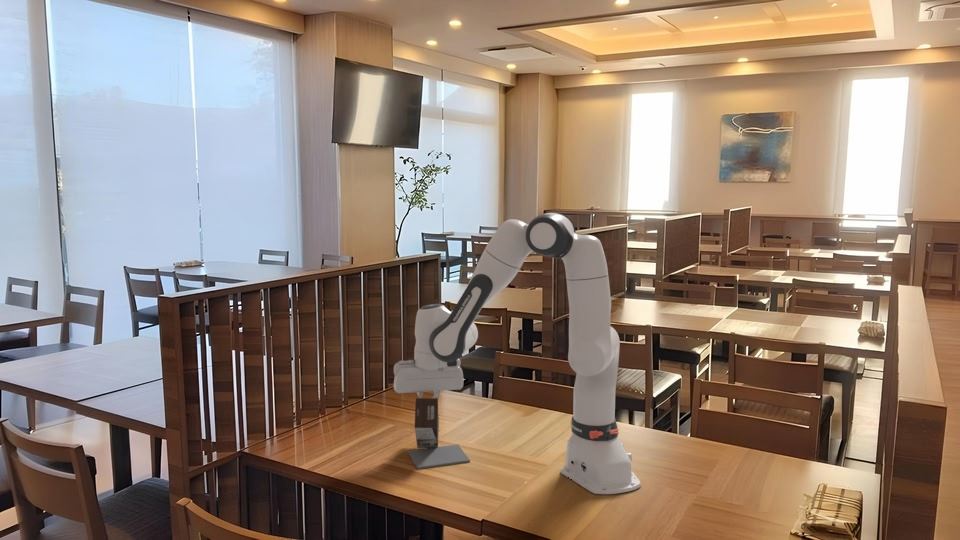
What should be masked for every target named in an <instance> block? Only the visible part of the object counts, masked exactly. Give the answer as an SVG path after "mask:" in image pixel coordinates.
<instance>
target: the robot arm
mask: <svg viewBox="0 0 960 540" xmlns="http://www.w3.org/2000/svg"><path fill="white" fill-rule="evenodd" d="M576 232H577V231H576V226H575V224H574V222H573V220H571V218H570V217H569V216H567V215H565V214H563V213H559V212H546V213H543V214H541V215H537V216H535V217H534V218H533V219H532V220H531V221H530V222H529V223H525V222H524V221H522V220H519V219H511V218H509V219H507V220H505V221H504V222H503V223H502V224H501V225H500V226H499V227H498V229H497V230H496V231H495V232H494V234H493V235H492V237H491V239H490V240H489V241H488V243H487V245H486V246H485V248H484V250H483V252H482V254H481V255H480V258H479V259H478V261H477V265H476V267H475V269H474V271H473V273H472V275H471V277H470V279H469V282H468V284H467V286H466V288H465V289H464V291H463V293H462V295H461V296H460V298H459V299H458V301H457V303H456V305H455V306H454V308H453V309H452V311H450V310H449V309H448V308H447V307H446V306H445V305H444V304H443V303H442V304H441V303H430V304H426V305H423V306H421V307H420V308H419V309H418V310H417V312H416V316H415V325H414V338H415V345H414V350H413V352H414V354H413V357H414V358H413V359H408V360H398V362H396V363H395V364H394V365H393V374H394V380H393V389H394V391H395V392H396V393H397V394H411V393H416V394H417V396H418V398H423V395H424V393H426V392H427V393H429V392H433V393H434V394H433V396H432V398H439V396H440V395H441V394H440V393H441V392H443V391H457V390H459V391H460V390H462V388H463V387H464V373H463V368H462V367H461V363H462V361H461V359H460V358H461V356H462V355H464V354H465V353H467V351H469V350H470V349H471V348H472V347H473V346H474V345H475V344H476V343H477V342H478V339H479V329H478V327H477V325H476V323H475V320H476V318H477V316H478V315H479V313H480V312H481V310H482V309H483V307H484V306H485V305H486V304H487V303H488V302H489V301H490V300H491V299H492V298H493V297H495V296H496V295H497V294H499V293H501V292H502V291H503V290H504V289H505V288H506V287H508V285H509V284H511V282H512V281H513V280H514V278H515V277H516V276H517V274H518V273H519V271H520V269H521V268H522V266H523V264H524V262H525V260H527V257H529V255H530V254H531V253H532V252H534V253H535V254H537V255H540V256H542V257H548V258H549V257H550V258H554V259H557V260H560V259H561V261H562V262H563V264H564V269H565V279H566V289H567V298H568V299H567V300H568V309H569V311H568V312H569V313H568V314H569V315H568V316H569V317H568V354H567V360H568V364H569V366H570V367H571V369H572V370H573V371H574V372H575V374H576V375H575V381H574V387H573V400H572V401H573V403H572V404H573V409H572V411H573V413H572V414H573V415H572V417H571V421H570V427H571V429H570V430H571V432H572V433H571V436H570V437H569V438H568V440H567V442H566V451H565V461H564V462H565V463H564V465H563V466H562V467H560V468H561V469H560V473H561V474H562V475H564V476H565V477H567V478H568V477H569V478H568V479H570V480H571V479H572V480H571V481H573V482H575V483H576V484H578V485H580V486H581V487H582V488H584V489H586V490H587V491H588V492H590V493H592V494H595V495H615V494H622V493H626V492H627V493H628V492H632V491H635V490H638V489H639V488H640V487H641V486H642V483H641V481H640V479H639V478H638V477H637V476H636V474H635V473H634V472H633V470H632V460H633V456H632V453H631V452H627V451H626V450H625V446H624V443H622V442H621V440H620V438H619V433H620V432H619V430H620V429H619V428H618V423H617V420H616V417H615V416H616V415H615V414H616V411H615V410H616V387H617V379H618V373H619V372H618V371H619V362H620V360H619V358H620V346H621V345H620V344H621V342H620V341H621V340H620V337H619V334H618V331H616V329H615V328H614V327H613V326H612V325H611V323H612V322H611V315H612V314H611V313H612V312H611V311H612V297H611V287H610V280H609V279H610V278H609V270H608V269H609V268H608V263H607V258H606V255H605V251H604V248H603V245H602V242H601V240H600V239H599V238H598V237H596V236H594V235H590V234H577V233H576Z"/></svg>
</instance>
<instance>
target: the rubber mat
mask: <svg viewBox="0 0 960 540" xmlns="http://www.w3.org/2000/svg"><path fill="white" fill-rule="evenodd" d="M408 455H409V457H410V458H411V460H412V462H413V464H414V466H415V468H416V469H417V470H421V469H422V470H423V469H429V468H430V469H431V468H438V467H444V466H451V465H458V464H465V463H471V459H470V458H469V456H467V455H466V453H465V451H464V450H463V449H462V447H461V446H460V445H459V444H458V443H457V444H449V445H444V446H443V445H442V446H438V447H433V448H417V449H412V450H411V449H410V450H408Z"/></svg>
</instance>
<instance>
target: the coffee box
mask: <svg viewBox="0 0 960 540" xmlns="http://www.w3.org/2000/svg"><path fill="white" fill-rule="evenodd" d="M438 398H439V397H438ZM438 398H433V397H430V398H427V397H426V398H425V397H424V398H423V397H422V398H419V397H417V398H415V409H414V411H415V413H414V431H415V432H414V433H415V439H416V440H415V442H416V447H417V449H426V448H433V447H439V431H440V430H439V429H440V428H439V427H440V426H439V424H440V423H439V422H440V419H439V418H440V415H439V403H438V402H439V399H438Z"/></svg>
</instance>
